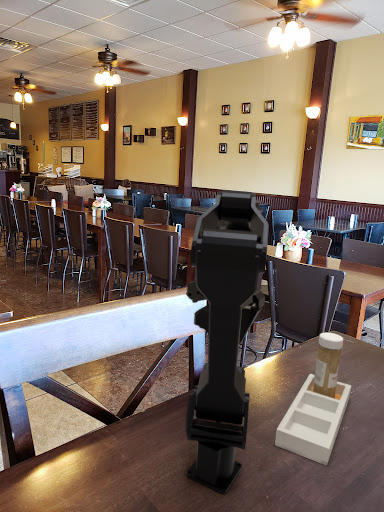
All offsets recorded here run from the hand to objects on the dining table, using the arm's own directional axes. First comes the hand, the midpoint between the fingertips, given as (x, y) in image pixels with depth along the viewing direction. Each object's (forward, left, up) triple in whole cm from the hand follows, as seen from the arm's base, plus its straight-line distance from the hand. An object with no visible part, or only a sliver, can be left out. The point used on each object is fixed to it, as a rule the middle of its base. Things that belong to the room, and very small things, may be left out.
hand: (228, 350), depth 73 cm
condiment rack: (+7, -16, -12) cm, 21 cm away
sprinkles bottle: (+14, -16, -11) cm, 24 cm away
